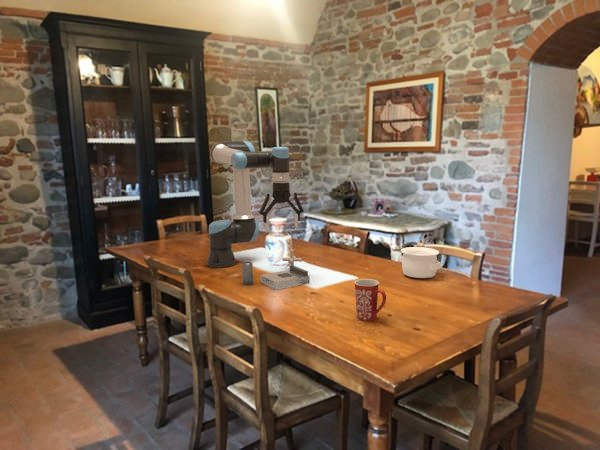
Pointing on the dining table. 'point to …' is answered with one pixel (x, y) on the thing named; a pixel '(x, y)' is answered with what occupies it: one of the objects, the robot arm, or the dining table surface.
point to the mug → (367, 299)
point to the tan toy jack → (292, 258)
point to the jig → (286, 278)
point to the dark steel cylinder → (247, 273)
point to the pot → (419, 262)
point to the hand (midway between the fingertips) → (281, 229)
